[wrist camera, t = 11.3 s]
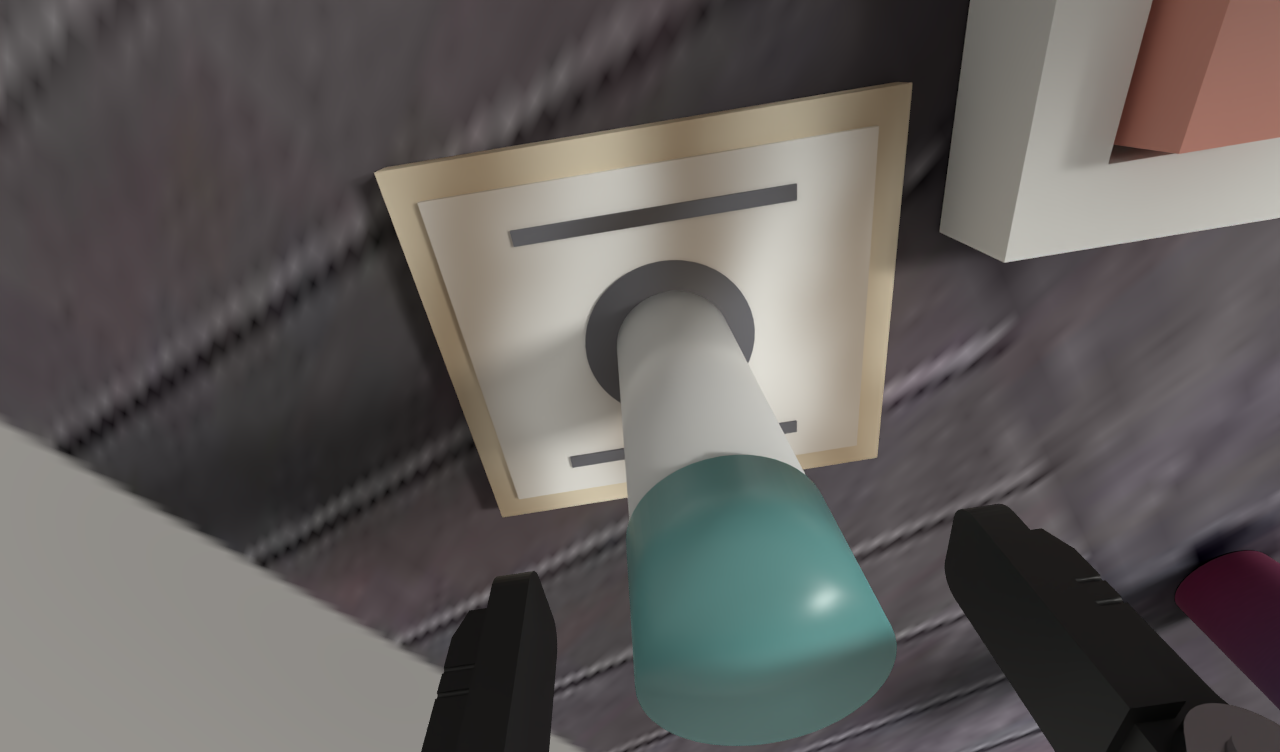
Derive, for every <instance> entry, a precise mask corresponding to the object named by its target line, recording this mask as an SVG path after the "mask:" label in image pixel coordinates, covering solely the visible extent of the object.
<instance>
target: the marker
mask: <svg viewBox="0 0 1280 752" xmlns="http://www.w3.org/2000/svg"><path fill="white" fill-rule="evenodd" d="M617 357H618V371H619V385H620V398H621V412H622V426H623V439H624V453H625V467H626V481H627V494H628V508H629V524H628V528H627V534H626V548H627V564H628V580H629V596H630V612H631V628H632V644H633V660H634V676H635V688H636V695H637V698H638V701H639V703H640V705H641V707H642V708H643V710H644V712H645V713H646V714H647V715H648V716H649V717H650V718H651V719H652V720H653V721H654V722H655V723H656V724H658V725H659V726H660V727H662V728H664V729H665V730H667V731H669V732H671V733H673V734H675V735H678V736H680V737H683V738H686V739H689V740H693V741H696V742H701V743H707V744H714V745H724V746H747V745H760V744H768V743H774V742H779V741H784V740H788V739H792V738H796V737H800V736H803V735H806V734H809V733H812V732H815V731H817V730H819V729H822V728H824V727H827V726H829V725H831V724H833V723H835V722H837V721H839V720H841V719H842V718H844V717H846V716H847V715H849V714H851V713H852V712H854V711H855V710H856V709H858V708H859V707H861V706H862V705H863V704H865V703H866V702H867V701H868V700H869V699H870V698H871V697H872V696H873V695H874V694H875V693H876V692H877V691H878V690H879V689H880V688H881V686H882V685H883V684H884V682H885V681H886V679H887V678H888V676H889V674H890V672H891V670H892V668H893V666H894V662H895V658H896V650H897V644H896V638H895V634H894V632H893V629H892V627H891V625H890V623H889V621H888V619H887V617H886V615H885V614H884V612H883V610H882V608H881V606H880V604H879V602H878V600H877V598H876V597H875V595H874V593H873V591H872V589H871V587H870V585H869V583H868V581H867V580H866V578H865V576H864V574H863V572H862V570H861V568H860V566H859V564H858V563H857V561H856V559H855V557H854V555H853V553H852V551H851V549H850V548H849V546H848V544H847V542H846V540H845V538H844V536H843V534H842V532H841V531H840V529H839V527H838V525H837V523H836V521H835V519H834V517H833V515H832V514H831V512H830V510H829V508H828V506H827V504H826V502H825V500H824V498H823V497H822V495H821V493H820V491H819V490H818V488H817V487H816V485H815V484H814V483H813V482H812V481H811V480H810V479H809V478H808V477H807V476H806V475H805V473H804V471H803V469H802V467H801V465H800V463H799V461H798V459H797V457H796V456H795V454H794V452H793V450H792V448H791V446H790V444H789V442H788V440H787V438H786V436H785V434H784V432H783V430H782V428H781V427H780V425H779V423H778V421H777V419H776V417H775V415H774V413H773V411H772V409H771V407H770V405H769V403H768V401H767V399H766V397H765V396H764V394H763V392H762V390H761V388H760V386H759V384H758V382H757V380H756V378H755V376H754V374H753V372H752V370H751V368H750V367H749V365H748V363H747V361H746V359H745V357H744V355H743V353H742V351H741V349H740V347H739V345H738V343H737V341H736V339H735V338H734V336H733V334H732V332H731V330H730V328H729V326H728V324H727V322H726V320H725V318H724V316H723V315H722V313H721V312H720V310H719V309H718V308H717V307H716V306H715V305H714V304H713V303H711V302H710V301H709V300H707V299H705V298H704V297H702V296H699V295H697V294H694V293H690V292H684V291H669V292H663V293H659V294H656V295H653V296H651V297H649V298H647V299H645V300H643V301H642V302H641V303H639V304H638V305H637V306H635V307H634V308H633V309H632V310H631V311H630V312H629V314H628V315H627V316H626V318H625V319H624V321H623V323H622V325H621V327H620V330H619V333H618V338H617Z"/></svg>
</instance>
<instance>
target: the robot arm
mask: <svg viewBox="0 0 1280 752" xmlns="http://www.w3.org/2000/svg"><path fill="white" fill-rule="evenodd" d="M945 574H946V579H947V582H948V585H949V588H950V590H951V592H952V594H953V596H954V598H955V600H956V601H957V603H958V604H959V606H960V607H961V609H962V610H963V612H964V613H965V615H966V616H967V618H968V619H969V621H970V622H971V624H972V625H973V627H974V629H975V630H976V632H977V633H978V635H979V636H980V638H981V639H982V641H983V642H984V644H985V645H986V647H987V648H988V650H989V651H990V653H991V654H992V656H993V657H994V659H995V661H996V662H997V664H998V665H999V667H1000V668H1001V670H1002V671H1003V673H1004V674H1005V676H1006V677H1007V679H1008V680H1009V682H1010V683H1011V685H1012V686H1013V688H1014V689H1015V691H1016V692H1017V694H1018V696H1019V697H1020V699H1021V700H1022V702H1023V703H1024V705H1025V706H1026V708H1027V709H1028V711H1029V712H1030V714H1031V715H1032V717H1033V718H1034V720H1035V721H1036V723H1037V724H1038V726H1039V728H1040V729H1041V731H1042V732H1043V734H1044V735H1045V737H1046V738H1047V740H1048V741H1049V743H1050V744H1051V746H1052V747H1053V749H1054V750H1055V752H1280V725H1278V724H1277V723H1275V722H1273V721H1271V720H1269V719H1267V718H1265V717H1263V716H1262V715H1259V714H1257V713H1254V712H1252V711H1249V710H1247V709H1243V708H1240V707H1237V706H1233V705H1229V704H1228V703H1226V702H1225V701H1224V700H1223V699H1221V698H1220V697H1219V696H1218V695H1217V694H1216V693H1215V692H1214V691H1213V690H1212V689H1211V688H1210V687H1209V686H1208V685H1207V684H1206V683H1205V682H1204V681H1203V680H1202V679H1201V678H1200V677H1199V676H1198V675H1197V674H1196V673H1195V672H1194V671H1193V670H1192V669H1191V668H1190V667H1189V666H1188V665H1187V664H1186V663H1185V662H1184V661H1183V660H1182V659H1181V658H1180V657H1179V656H1178V655H1177V654H1176V652H1175V651H1174V650H1173V649H1172V648H1171V647H1170V646H1169V645H1168V644H1167V643H1166V642H1165V641H1164V640H1163V639H1162V638H1161V637H1160V636H1159V635H1158V634H1157V633H1156V632H1155V631H1154V630H1153V629H1152V628H1151V627H1150V626H1149V625H1148V624H1147V623H1146V622H1145V621H1144V620H1143V619H1142V618H1141V616H1140V615H1139V614H1138V613H1137V612H1136V611H1135V610H1134V609H1133V608H1132V607H1131V606H1130V605H1129V604H1128V603H1124V602H1123V601H1122V599H1121V596H1120V595H1119V594H1118V593H1117V592H1116V591H1115V590H1114V589H1113V588H1112V587H1111V586H1110V585H1109V584H1108V583H1107V582H1106V581H1105V580H1104V581H1103V580H1102V579H1101V578H1100V574H1099V573H1098V572H1097V571H1096V570H1095V569H1094V568H1093V567H1092V566H1091V565H1090V564H1089V563H1088V562H1087V561H1086V560H1085V559H1084V558H1083V557H1082V556H1081V555H1080V554H1079V553H1078V552H1077V551H1076V550H1075V549H1074V548H1072V547H1071V546H1069V545H1068V544H1066V543H1064V542H1063V541H1061V540H1060V539H1058V538H1056V537H1055V536H1053V535H1051V534H1050V533H1048V532H1047V531H1045V530H1043V529H1042V528H1041V529H1034V530H1030V529H1029V528H1028V527H1027V526H1026V525H1025V524H1024V523H1023V521H1022V520H1021V519H1020V518H1019V517H1018V516H1017V515H1016V514H1015V513H1014V512H1013V511H1012V510H1011V509H1010V508H1009V507H1007V506H1006V505H1003V504H994V505H987V506H981V507H974V508H967V509H960V510H958V511H957V512H956V513H955V516H954V520H953V525H952V530H951V535H950V540H949V545H948V550H947V555H946V560H945ZM556 660H557V634H556V627H555V622H554V618H553V615H552V613H551V610H550V607H549V604H548V602H547V599H546V596H545V593H544V590H543V588H542V585H541V582H540V579H539V577H538V574H537V573H536V572H535V571H532V572H525V573H518V574H511V575H505V576H498V577H496V578H495V579H494V581H493V584H492V587H491V592H490V596H489V601H488V606H487V608H485V609H478V610H471V611H469V612H468V614H467V615H466V617H465V618H464V620H463V621H462V623H461V625H460V626H459V628H458V629H457V631H456V632H455V634H454V635H453V637H452V639H451V643H450V646H449V650H448V654H447V658H446V661H445V665H444V673H443V674H442V676H441V680H440V684H439V687H438V691H437V694H438V697H437V699H435V702H434V706H433V710H432V714H431V718H430V722H429V725H428V728H427V732H426V736H425V740H424V743H423V747H422V751H421V752H549V745H550V733H551V720H552V708H553V696H554V684H555V672H556Z"/></svg>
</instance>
